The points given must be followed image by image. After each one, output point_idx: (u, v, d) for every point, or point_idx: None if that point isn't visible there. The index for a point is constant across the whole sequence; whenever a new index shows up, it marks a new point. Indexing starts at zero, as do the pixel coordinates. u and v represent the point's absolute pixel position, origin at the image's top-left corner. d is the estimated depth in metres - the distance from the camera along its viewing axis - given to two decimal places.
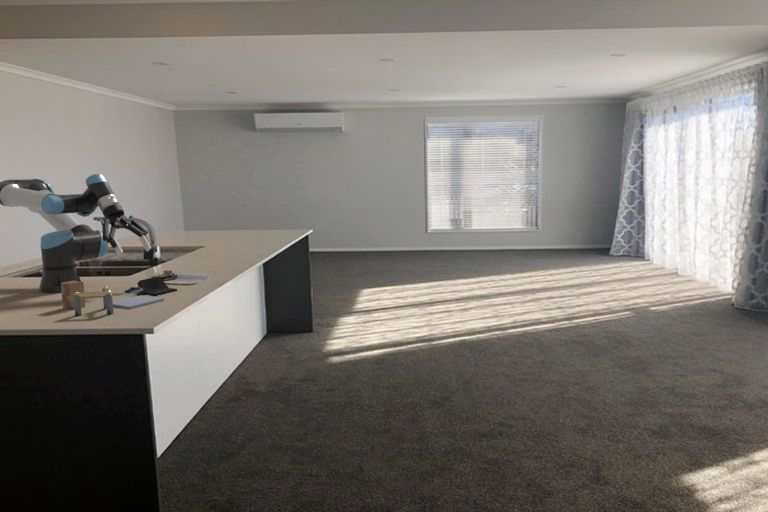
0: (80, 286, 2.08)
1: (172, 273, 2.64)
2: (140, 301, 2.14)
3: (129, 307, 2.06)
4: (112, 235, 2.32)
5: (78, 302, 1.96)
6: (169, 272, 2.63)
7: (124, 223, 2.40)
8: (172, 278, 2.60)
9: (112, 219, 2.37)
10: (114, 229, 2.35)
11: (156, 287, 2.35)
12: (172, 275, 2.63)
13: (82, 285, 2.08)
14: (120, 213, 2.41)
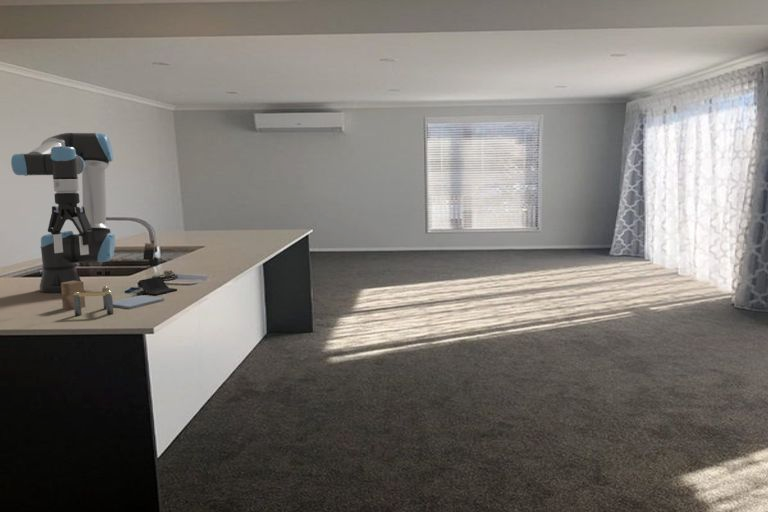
0: (80, 286, 2.08)
1: (172, 273, 2.64)
2: (140, 301, 2.14)
3: (129, 307, 2.06)
4: (53, 230, 2.08)
5: (78, 302, 1.96)
6: (169, 272, 2.63)
7: (68, 216, 2.03)
8: (172, 278, 2.60)
9: (59, 209, 2.05)
10: (56, 223, 2.06)
11: (156, 287, 2.35)
12: (172, 275, 2.63)
13: (82, 285, 2.08)
14: (65, 204, 2.02)
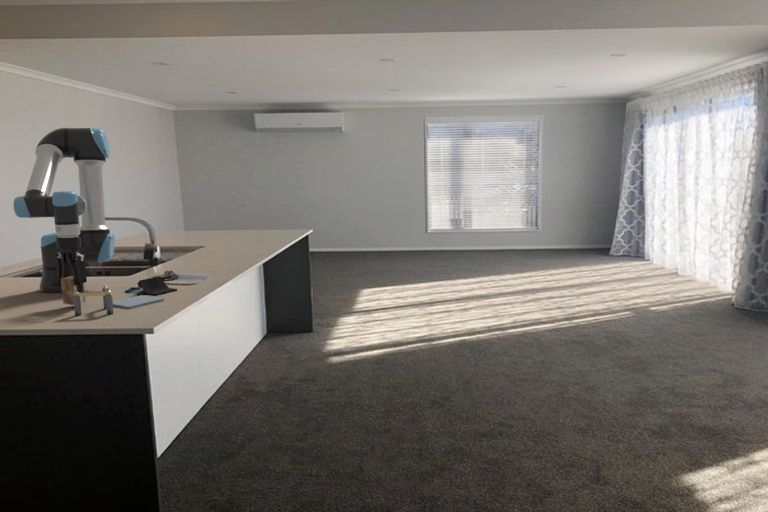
0: None
1: (173, 273, 2.63)
2: (140, 301, 2.14)
3: (129, 307, 2.06)
4: None
5: (78, 302, 1.96)
6: (170, 272, 2.62)
7: None
8: (172, 278, 2.60)
9: (61, 253, 2.07)
10: (63, 269, 2.07)
11: (156, 287, 2.35)
12: (173, 275, 2.63)
13: None
14: None
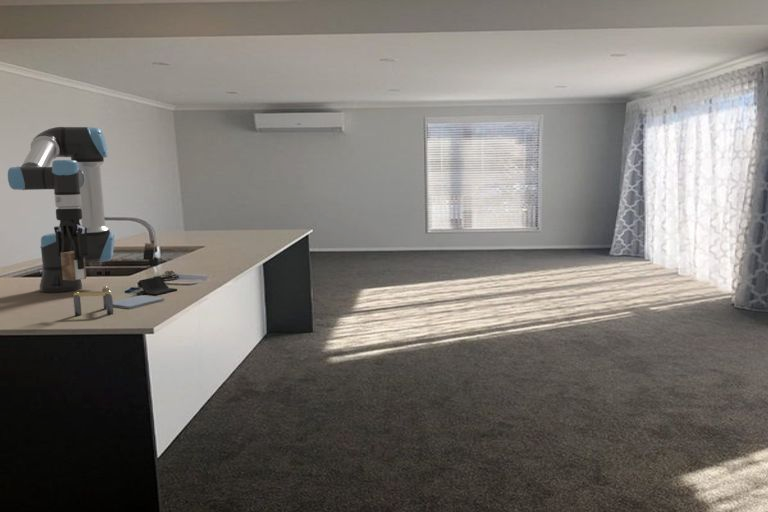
0: None
1: (173, 273, 2.63)
2: (140, 301, 2.14)
3: (129, 307, 2.06)
4: None
5: (78, 302, 1.96)
6: (170, 272, 2.62)
7: None
8: (172, 278, 2.59)
9: (60, 226, 1.95)
10: (63, 243, 1.95)
11: (156, 287, 2.35)
12: None
13: None
14: None
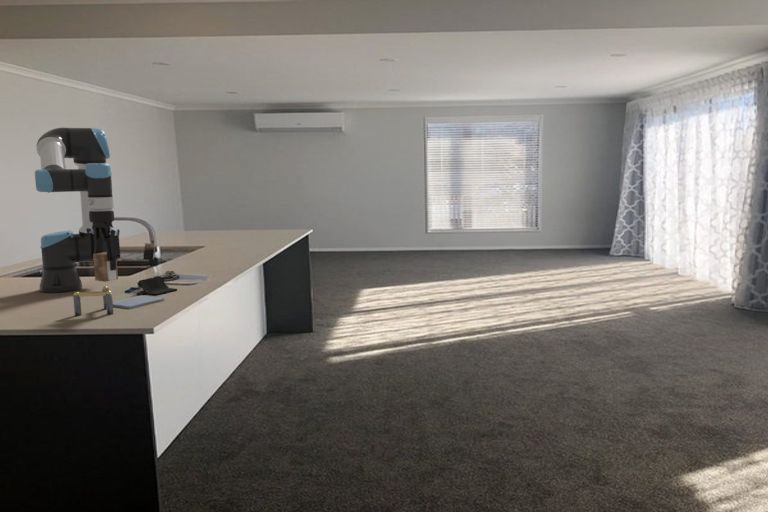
0: None
1: (174, 274, 2.62)
2: (140, 301, 2.14)
3: (129, 307, 2.06)
4: None
5: (78, 302, 1.96)
6: (171, 273, 2.62)
7: None
8: (173, 279, 2.59)
9: (93, 227, 1.98)
10: (95, 245, 1.99)
11: (156, 287, 2.35)
12: None
13: None
14: None
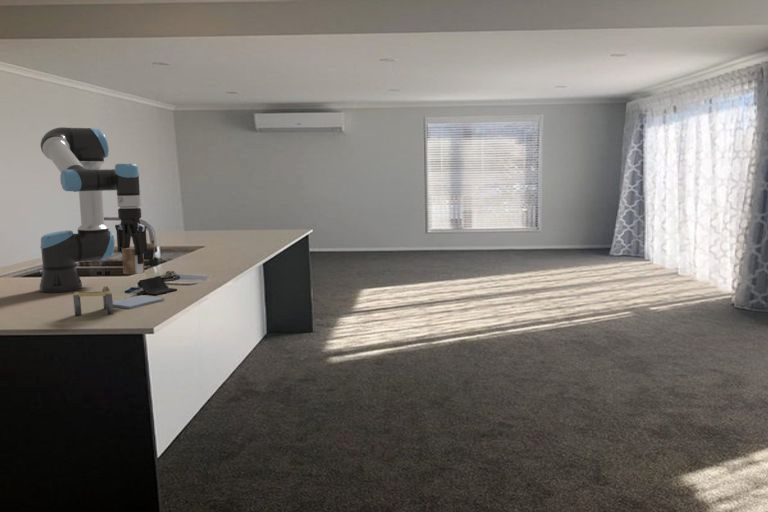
0: None
1: (174, 274, 2.62)
2: (140, 301, 2.14)
3: (129, 307, 2.06)
4: None
5: (78, 302, 1.96)
6: (171, 273, 2.61)
7: None
8: (173, 279, 2.59)
9: (121, 224, 2.12)
10: (123, 240, 2.12)
11: (156, 287, 2.35)
12: None
13: None
14: (128, 219, 2.09)
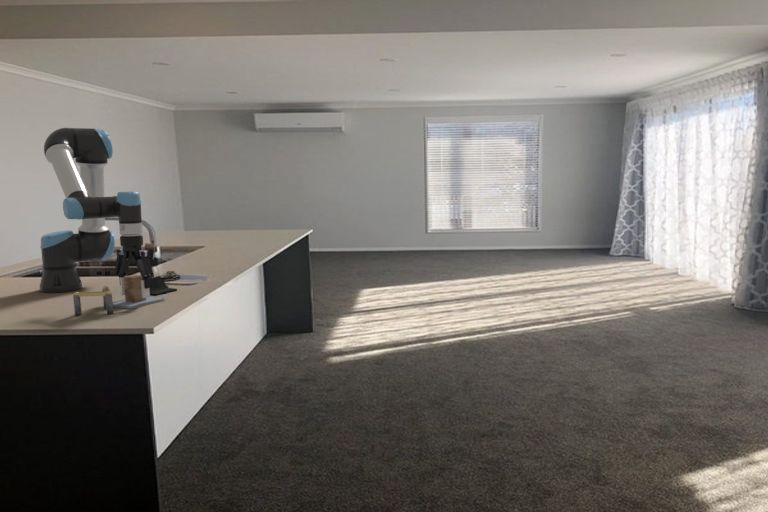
0: None
1: (175, 274, 2.62)
2: (140, 301, 2.14)
3: (129, 307, 2.06)
4: (120, 273, 2.15)
5: (78, 302, 1.96)
6: (171, 273, 2.61)
7: None
8: (173, 279, 2.58)
9: (123, 251, 2.13)
10: (122, 265, 2.14)
11: (156, 287, 2.35)
12: None
13: None
14: (130, 246, 2.10)
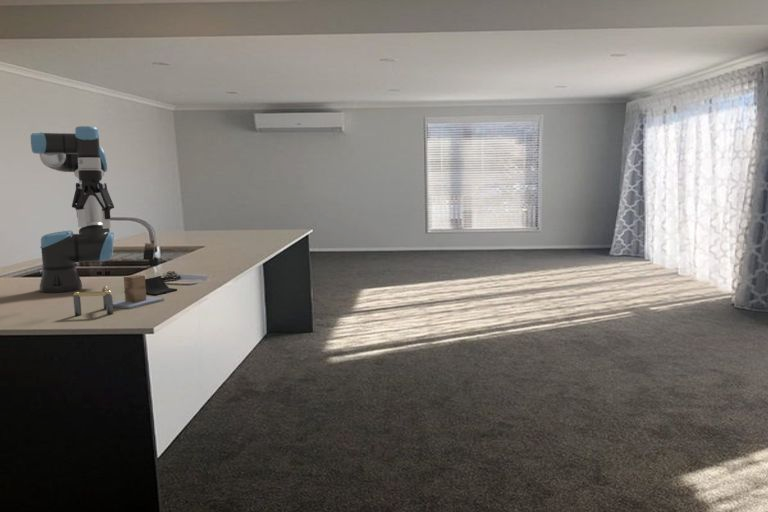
0: (142, 280, 2.14)
1: (175, 274, 2.61)
2: (140, 301, 2.14)
3: (129, 307, 2.06)
4: (77, 205, 2.21)
5: (78, 302, 1.96)
6: (172, 273, 2.61)
7: (91, 192, 2.16)
8: (173, 279, 2.58)
9: (82, 186, 2.18)
10: (80, 198, 2.19)
11: (156, 287, 2.35)
12: (175, 276, 2.61)
13: (144, 279, 2.15)
14: (88, 180, 2.15)
